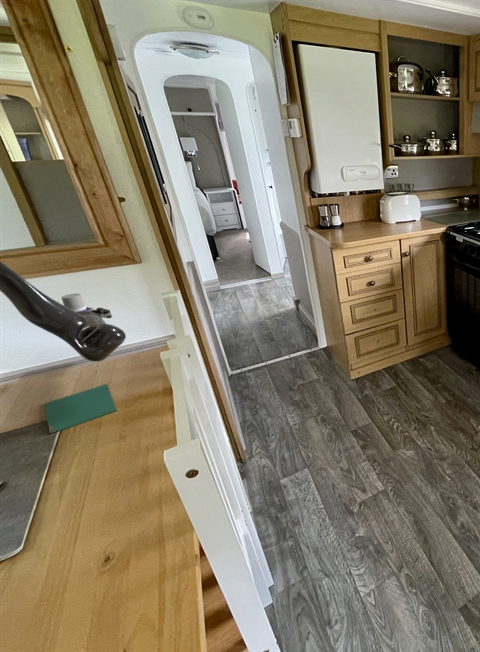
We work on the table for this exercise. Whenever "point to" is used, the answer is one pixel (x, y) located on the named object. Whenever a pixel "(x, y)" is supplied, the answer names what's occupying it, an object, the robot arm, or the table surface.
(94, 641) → the table surface
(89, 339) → the robot arm
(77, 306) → the container
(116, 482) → the table surface
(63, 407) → the napkin
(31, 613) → the table surface
